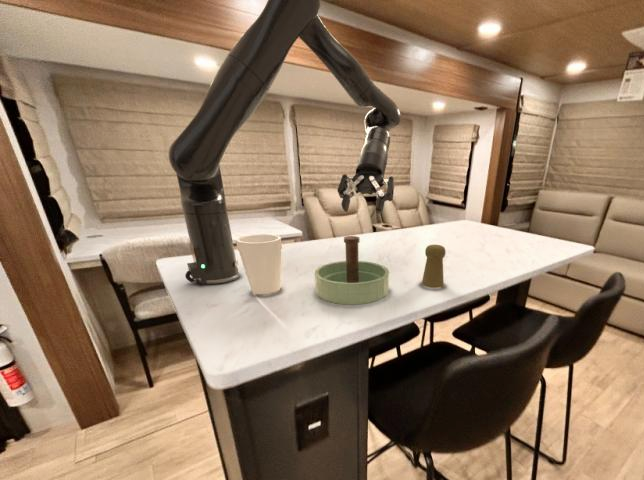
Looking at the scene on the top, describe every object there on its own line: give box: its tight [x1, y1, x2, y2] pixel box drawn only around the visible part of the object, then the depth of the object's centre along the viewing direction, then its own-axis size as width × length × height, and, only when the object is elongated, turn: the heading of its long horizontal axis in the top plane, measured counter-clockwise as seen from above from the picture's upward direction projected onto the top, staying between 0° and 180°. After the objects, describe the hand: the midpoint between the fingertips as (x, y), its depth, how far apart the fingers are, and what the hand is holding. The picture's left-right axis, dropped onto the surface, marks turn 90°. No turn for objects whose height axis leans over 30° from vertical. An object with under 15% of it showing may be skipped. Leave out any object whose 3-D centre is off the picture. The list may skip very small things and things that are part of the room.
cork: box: [421, 244, 447, 289], centre depth 81 cm, size 6×6×11 cm
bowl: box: [314, 260, 390, 306], centre depth 76 cm, size 18×18×6 cm
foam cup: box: [235, 233, 283, 297], centre depth 72 cm, size 10×9×13 cm
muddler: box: [343, 235, 361, 283], centre depth 74 cm, size 4×4×13 cm
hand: (361, 210), depth 78 cm, fingers open, 8 cm apart
